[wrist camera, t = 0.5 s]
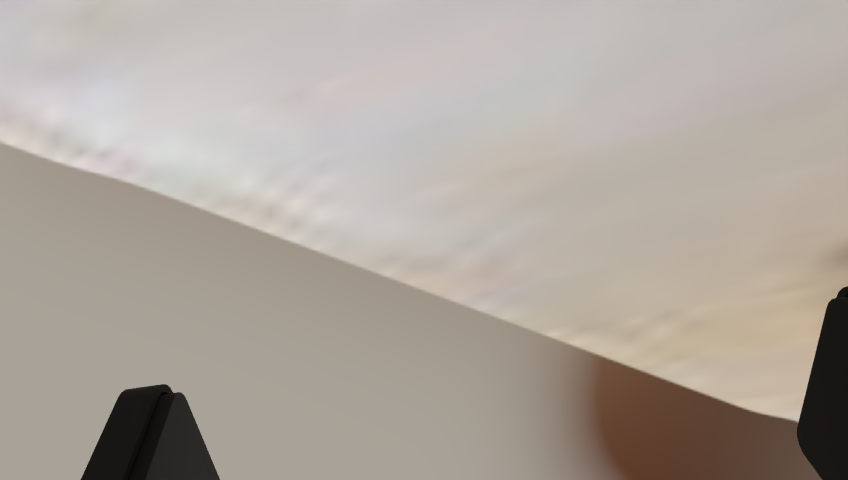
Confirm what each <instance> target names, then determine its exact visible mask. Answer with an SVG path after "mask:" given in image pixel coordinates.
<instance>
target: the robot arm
mask: <svg viewBox="0 0 848 480" xmlns="http://www.w3.org/2000/svg"><path fill="white" fill-rule="evenodd" d="M797 437H798V441H799V445H800V447H801V450H802V452H803V453H804V455H805V456H806V458H807V459H808V461H809V462H810V463H811V465H812V466H813V467H814V469H815V470H816V471H817V473H818V474H819V476H820V477H821V478H822V480H848V287H844V288H842V289H841V290H840V291H839V293H838V295H837V297H836V298H835V299H832V300H831V301H830V302H829V303H828V306H827V309H826V313H825V317H824V321H823V325H822V329H821V333H820V337H819V341H818V346H817V350H816V354H815V358H814V362H813V366H812V370H811V374H810V378H809V382H808V386H807V391H806V395H805V399H804V403H803V407H802V411H801V415H800V419H799V423H798V427H797ZM81 480H220V479H219V476H218V474H217V472H216V469H215V467H214V464H213V462H212V460H211V457H210V455H209V452H208V450H207V448H206V445H205V443H204V441H203V438H202V436H201V433H200V431H199V429H198V426H197V424H196V421H195V419H194V417H193V414H192V412H191V410H190V407H189V405H188V402H187V400H186V398H185V396H184V395H183V394H182V393H179V392H178V393H173V392H172V390H171V388H170V387H169V386H168V385H164V384H163V385H155V386H149V387H141V388H135V389H127V390H125V391H123V392H122V393H121V394H120V396H119V397H118V399H117V402H116V403H115V406H114V408H113V410H112V412H111V414H110V417H109V419H108V421H107V423H106V425H105V428H104V430H103V432H102V434H101V436H100V439H99V441H98V443H97V445H96V447H95V450H94V452H93V454H92V456H91V459H90V461H89V463H88V465H87V467H86V470H85V472H84V474H83V476H82V478H81Z"/></svg>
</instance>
